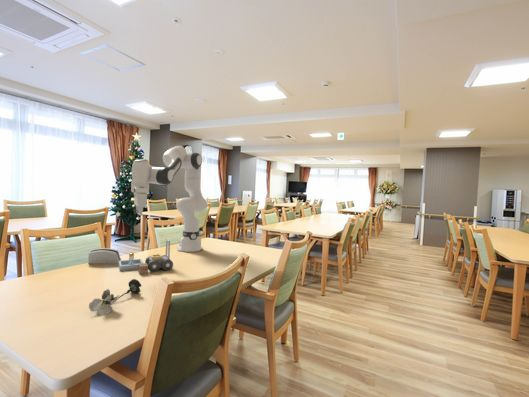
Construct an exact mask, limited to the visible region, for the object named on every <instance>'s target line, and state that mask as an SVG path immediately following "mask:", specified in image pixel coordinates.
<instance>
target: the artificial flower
mask: <svg viewBox="0 0 529 397" xmlns="http://www.w3.org/2000/svg"><path fill="white" fill-rule="evenodd" d="M141 287H142V283H141V282H140V281H139V280H137V279H135V278H133V279H131V280H130V281H129V282H128V288H129V289H128V290H127V291H125V292H124V293H122V295H119V294H118V295H116V296H115V295H114V294H113V293H111V291H110V289H109V288H107V289H106V290H103V292H102V294H101V298H93V300H91V301H90V302H89V304H88V308H89V311H90V312H96V315H97V316H98V317H103V316H105V315H108V314H109V313H111V312H112V311H113V306H111V305H112V304H114V303H116V302H117V301H118V300H119V299H120V298H122V297H123V296H124V295H127V294H129V293H130V292H131V293H132V294H140V293H141Z"/></svg>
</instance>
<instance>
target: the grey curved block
mask: <svg viewBox="0 0 529 397" xmlns="http://www.w3.org/2000/svg"><path fill="white" fill-rule="evenodd" d="M87 260H88V261H87V262H88V264H118V262H119V261H122V258H121V256H120V252H119V250H118V249H115V248H110V247H109V248H108V247H100V248H93V249H91V250H90V251H89V253H88V259H87Z"/></svg>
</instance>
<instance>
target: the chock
mask: <svg viewBox="0 0 529 397" xmlns="http://www.w3.org/2000/svg"><path fill="white" fill-rule="evenodd" d="M137 271H138V272H137V273H138V275H148V274H149V272H148V271H149V269H148V265H147V263H145V262H143V263H141V264H138V269H137Z"/></svg>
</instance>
